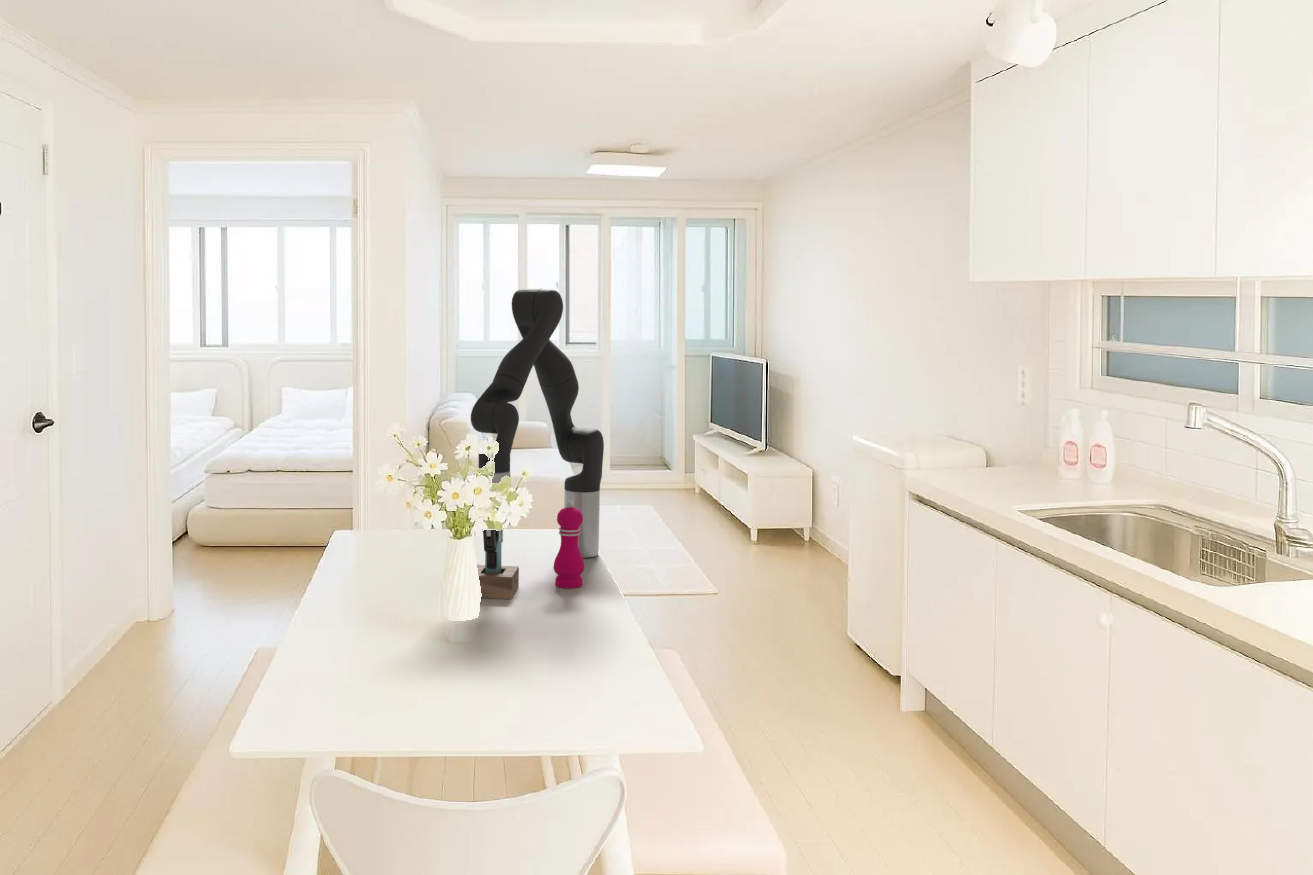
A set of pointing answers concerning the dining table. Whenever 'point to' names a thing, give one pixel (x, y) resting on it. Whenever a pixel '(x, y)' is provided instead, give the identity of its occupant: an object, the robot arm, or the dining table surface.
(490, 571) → the peg
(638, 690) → the dining table surface
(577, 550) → the pepper mill
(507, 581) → the socket block
